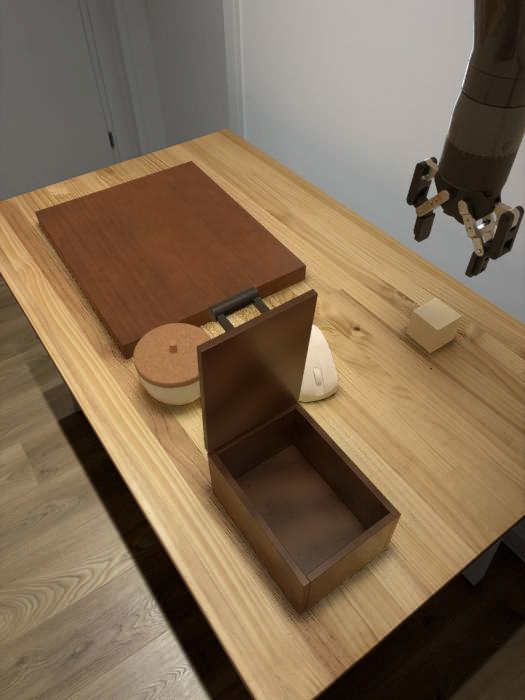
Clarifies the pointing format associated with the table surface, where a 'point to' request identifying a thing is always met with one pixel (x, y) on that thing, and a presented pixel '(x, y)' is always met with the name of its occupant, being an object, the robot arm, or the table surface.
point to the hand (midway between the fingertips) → (445, 255)
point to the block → (433, 324)
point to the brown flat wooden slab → (164, 251)
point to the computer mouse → (318, 370)
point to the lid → (252, 364)
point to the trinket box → (170, 362)
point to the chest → (301, 504)
